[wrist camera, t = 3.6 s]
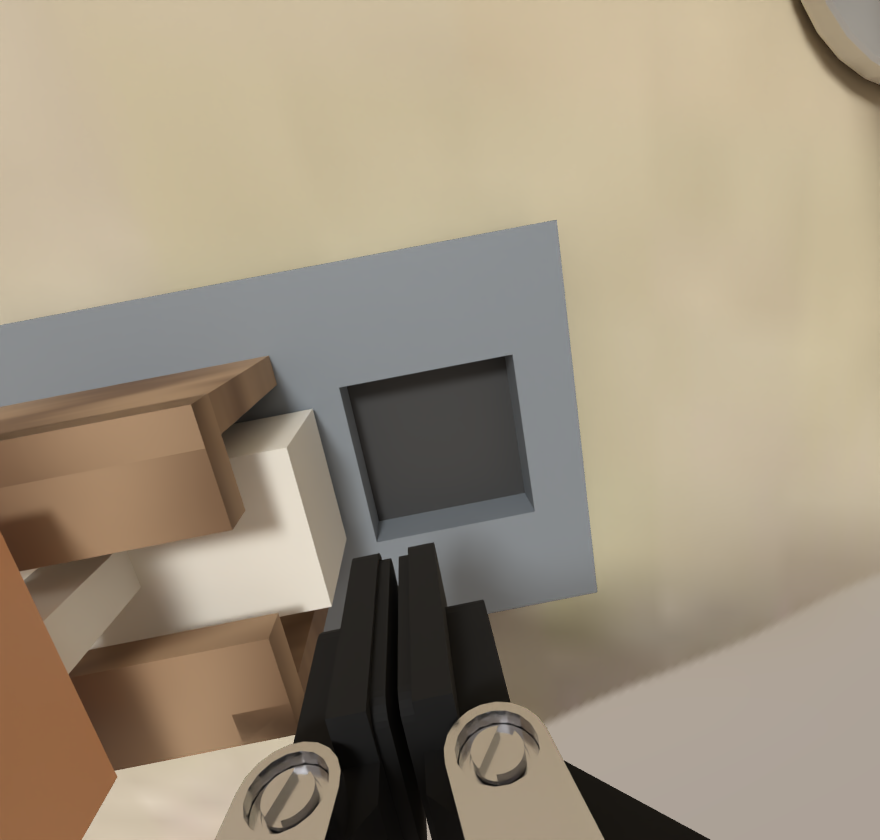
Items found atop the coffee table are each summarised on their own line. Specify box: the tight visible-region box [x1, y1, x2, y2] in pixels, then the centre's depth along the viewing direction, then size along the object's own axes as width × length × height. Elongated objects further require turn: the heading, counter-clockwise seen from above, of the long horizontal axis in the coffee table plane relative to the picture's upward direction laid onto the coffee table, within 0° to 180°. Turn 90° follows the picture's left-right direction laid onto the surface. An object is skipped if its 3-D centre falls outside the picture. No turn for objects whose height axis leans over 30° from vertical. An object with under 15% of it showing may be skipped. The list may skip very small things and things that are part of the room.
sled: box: [0, 409, 347, 840], centre depth 13 cm, size 12×7×10 cm, turn 100°
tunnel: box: [0, 356, 329, 771], centre depth 15 cm, size 10×9×6 cm
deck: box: [0, 220, 597, 632], centre depth 19 cm, size 30×14×2 cm, turn 100°
